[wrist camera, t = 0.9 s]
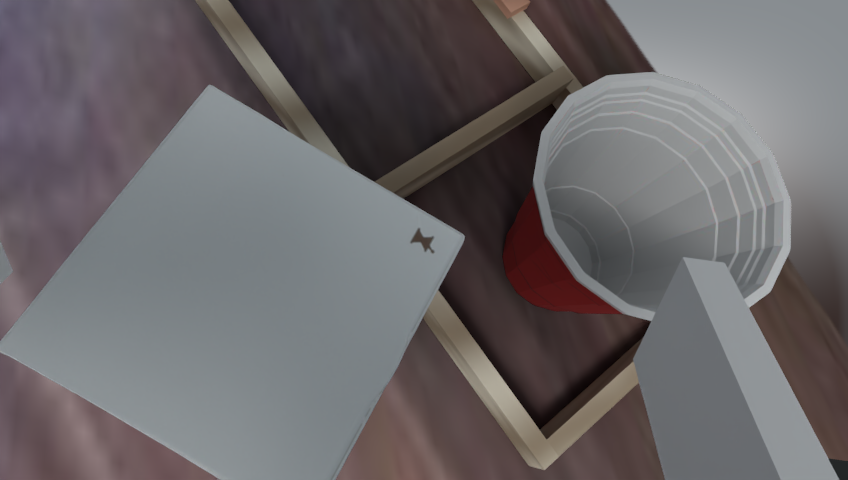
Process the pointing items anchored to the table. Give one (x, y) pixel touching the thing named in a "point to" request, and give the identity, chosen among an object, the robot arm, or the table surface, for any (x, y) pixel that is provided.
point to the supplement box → (240, 298)
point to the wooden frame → (553, 85)
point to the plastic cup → (645, 199)
